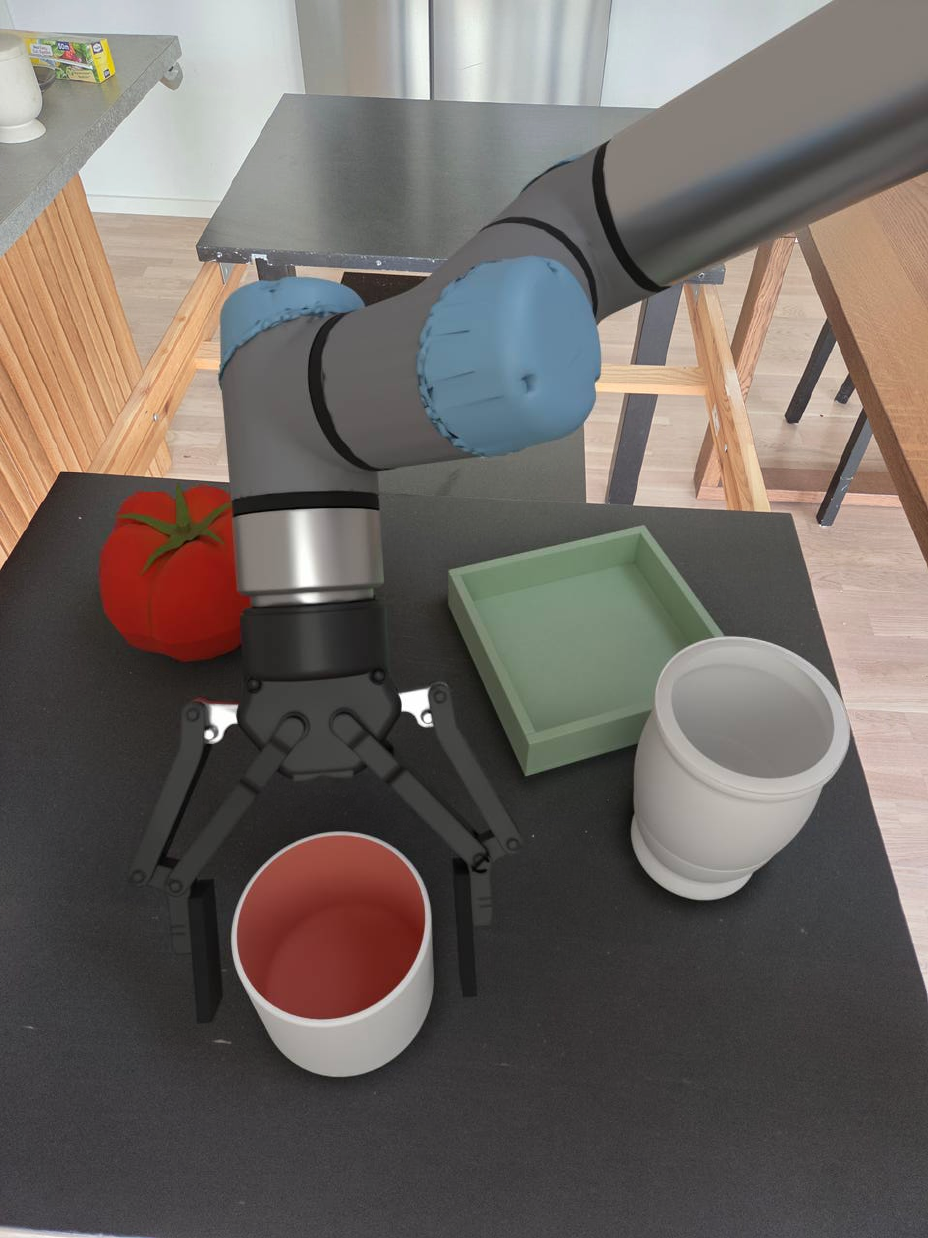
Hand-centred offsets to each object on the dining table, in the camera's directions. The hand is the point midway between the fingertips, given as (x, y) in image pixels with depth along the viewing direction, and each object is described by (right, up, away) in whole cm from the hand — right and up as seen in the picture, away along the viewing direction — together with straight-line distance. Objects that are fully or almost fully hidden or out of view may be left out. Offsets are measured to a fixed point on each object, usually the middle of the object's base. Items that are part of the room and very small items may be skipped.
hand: (340, 998), depth 45 cm
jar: (+22, +5, +12) cm, 25 cm away
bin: (+16, +17, +22) cm, 33 cm away
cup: (0, -2, +5) cm, 5 cm away
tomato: (-14, +20, +24) cm, 35 cm away
